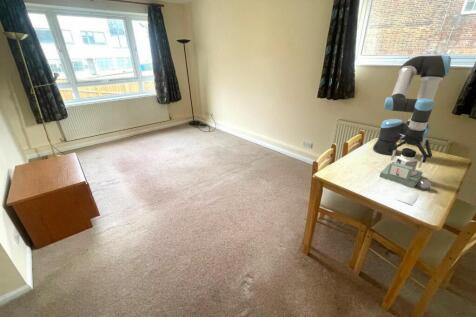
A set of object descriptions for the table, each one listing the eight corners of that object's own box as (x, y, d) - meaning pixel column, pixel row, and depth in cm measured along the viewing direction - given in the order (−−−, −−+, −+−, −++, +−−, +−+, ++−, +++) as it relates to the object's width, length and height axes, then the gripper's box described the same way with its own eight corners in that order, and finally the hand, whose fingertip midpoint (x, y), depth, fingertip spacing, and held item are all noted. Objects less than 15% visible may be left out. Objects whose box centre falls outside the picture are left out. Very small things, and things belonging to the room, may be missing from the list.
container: (402, 173, 128) (409, 153, 122) (392, 167, 135) (398, 147, 129) (414, 171, 129) (421, 151, 123) (403, 165, 136) (410, 146, 130)
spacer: (418, 184, 125) (420, 178, 123) (429, 187, 121) (432, 181, 120) (416, 188, 122) (418, 181, 120) (427, 191, 118) (430, 185, 117)
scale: (389, 166, 143) (393, 152, 139) (421, 176, 132) (427, 161, 127) (379, 177, 133) (383, 162, 129) (413, 188, 121) (419, 172, 117)
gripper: (388, 125, 127) (379, 158, 136) (445, 135, 110) (430, 172, 120) (392, 122, 131) (383, 154, 141) (448, 131, 115) (433, 167, 124)
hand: (405, 163), depth 130 cm, fingers open, 13 cm apart
